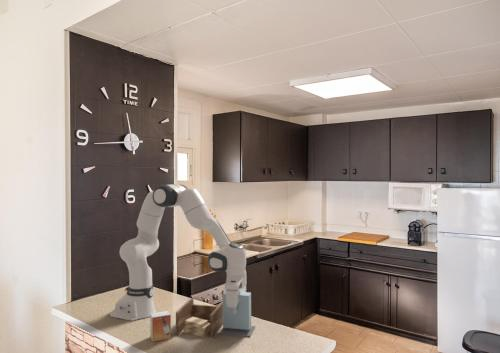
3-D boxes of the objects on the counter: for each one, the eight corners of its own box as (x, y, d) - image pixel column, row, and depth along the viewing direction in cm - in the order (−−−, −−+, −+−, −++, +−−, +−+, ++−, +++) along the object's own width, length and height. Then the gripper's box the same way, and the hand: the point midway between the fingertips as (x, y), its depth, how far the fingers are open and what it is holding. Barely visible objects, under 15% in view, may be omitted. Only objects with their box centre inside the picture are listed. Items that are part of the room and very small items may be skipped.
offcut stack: (183, 333, 163) (182, 321, 163) (191, 327, 169) (191, 315, 168) (204, 337, 158) (203, 325, 158) (211, 331, 164) (211, 319, 164)
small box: (152, 342, 154) (151, 317, 154) (150, 337, 159) (149, 313, 159) (171, 338, 157) (170, 314, 157) (168, 333, 162) (168, 310, 162)
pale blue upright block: (222, 327, 163) (222, 294, 163) (225, 323, 167) (225, 290, 167) (249, 329, 160) (248, 295, 160) (251, 325, 165) (250, 292, 164)
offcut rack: (176, 334, 161) (175, 312, 160) (191, 318, 178) (191, 298, 178) (213, 338, 157) (212, 315, 157) (225, 321, 174) (224, 300, 174)
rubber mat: (219, 334, 160) (219, 333, 160) (225, 324, 170) (225, 323, 170) (250, 337, 157) (250, 335, 157) (254, 327, 167) (254, 326, 167)
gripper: (235, 273, 174) (236, 302, 175) (223, 286, 154) (223, 319, 155) (248, 274, 173) (248, 302, 173) (237, 287, 153) (238, 320, 153)
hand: (236, 310), depth 164 cm, fingers closed on pale blue upright block, 4 cm apart
